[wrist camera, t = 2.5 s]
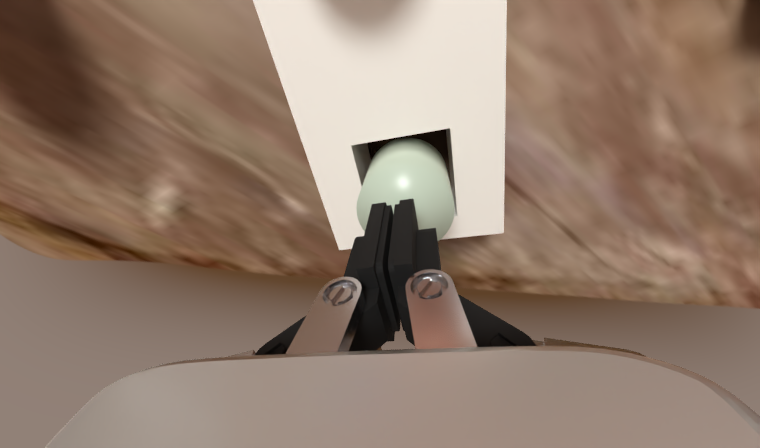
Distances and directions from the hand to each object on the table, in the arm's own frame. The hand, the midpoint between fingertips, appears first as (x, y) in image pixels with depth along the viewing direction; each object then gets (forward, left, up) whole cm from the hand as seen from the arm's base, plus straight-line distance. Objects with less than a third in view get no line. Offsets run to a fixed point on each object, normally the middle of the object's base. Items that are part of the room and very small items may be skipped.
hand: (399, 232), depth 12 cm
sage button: (0, 0, -6) cm, 6 cm away
